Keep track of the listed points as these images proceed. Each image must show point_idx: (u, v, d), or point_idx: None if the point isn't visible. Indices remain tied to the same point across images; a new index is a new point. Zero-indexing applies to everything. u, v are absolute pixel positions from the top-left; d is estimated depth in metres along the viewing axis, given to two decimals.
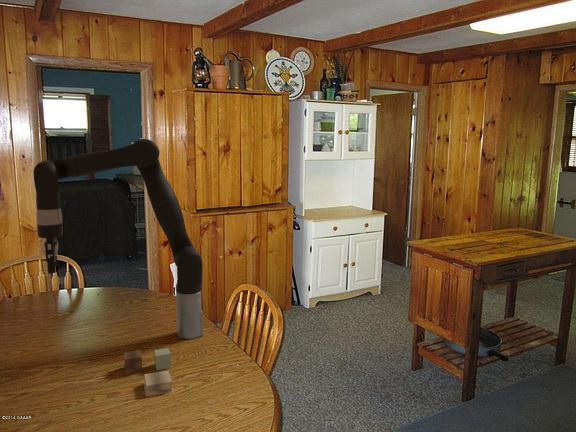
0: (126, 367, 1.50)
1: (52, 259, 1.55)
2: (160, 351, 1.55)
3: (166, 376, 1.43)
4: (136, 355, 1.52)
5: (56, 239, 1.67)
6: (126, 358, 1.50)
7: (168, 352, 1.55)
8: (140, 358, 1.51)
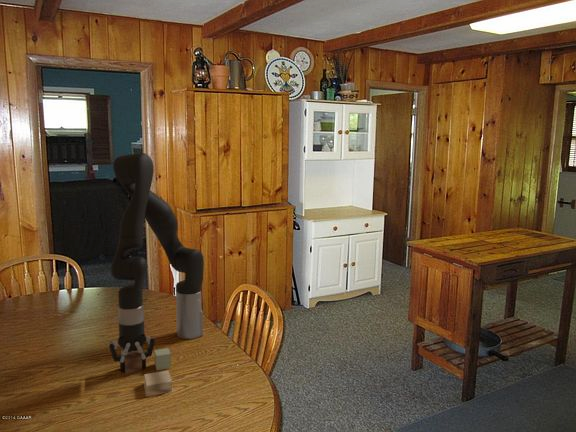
0: (126, 367, 1.50)
1: None
2: (160, 351, 1.55)
3: (166, 376, 1.43)
4: (136, 355, 1.52)
5: None
6: (126, 358, 1.50)
7: (168, 352, 1.55)
8: (140, 358, 1.51)
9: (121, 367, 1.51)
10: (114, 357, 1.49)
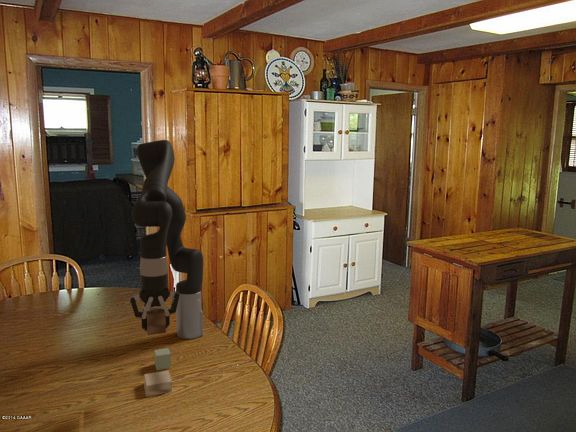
0: (148, 323, 1.36)
1: None
2: (160, 351, 1.55)
3: (166, 376, 1.43)
4: (159, 311, 1.38)
5: None
6: (148, 314, 1.36)
7: (168, 352, 1.55)
8: (164, 314, 1.37)
9: (143, 324, 1.37)
10: (135, 312, 1.36)
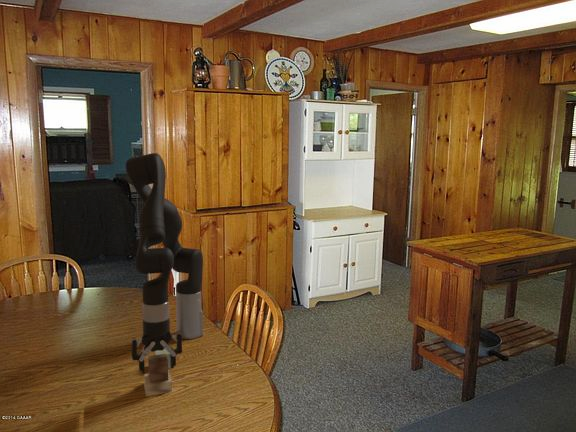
0: (151, 372, 1.39)
1: None
2: (160, 351, 1.55)
3: None
4: (162, 359, 1.41)
5: None
6: (151, 362, 1.39)
7: (168, 352, 1.55)
8: (166, 362, 1.40)
9: (140, 366, 1.39)
10: (133, 355, 1.37)
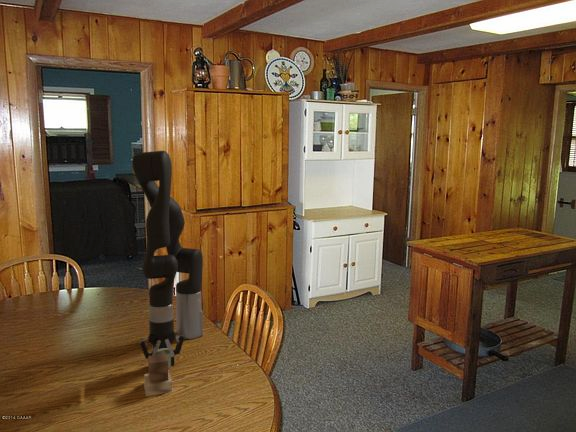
0: (151, 372, 1.39)
1: None
2: (160, 351, 1.55)
3: None
4: (162, 359, 1.41)
5: None
6: (151, 362, 1.39)
7: (168, 352, 1.55)
8: (166, 362, 1.40)
9: None
10: (145, 354, 1.52)
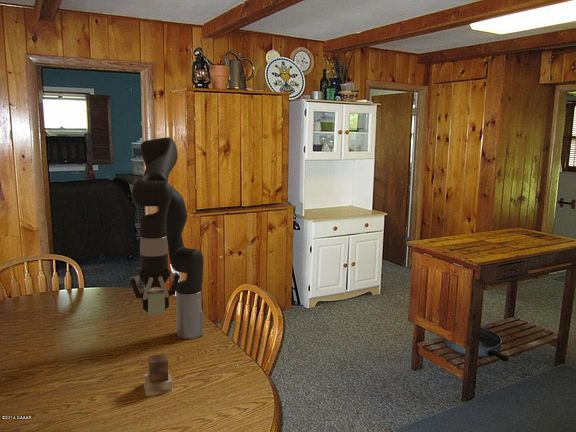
0: (151, 372, 1.39)
1: None
2: (153, 291, 1.38)
3: None
4: (162, 359, 1.41)
5: None
6: (151, 362, 1.39)
7: (162, 292, 1.38)
8: (166, 362, 1.40)
9: (144, 305, 1.37)
10: (136, 293, 1.35)
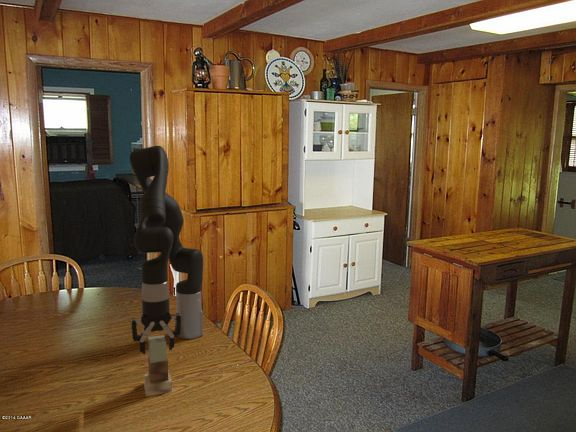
0: (151, 372, 1.39)
1: None
2: (154, 338, 1.41)
3: None
4: None
5: None
6: None
7: (163, 339, 1.40)
8: (166, 362, 1.40)
9: (141, 347, 1.38)
10: (134, 336, 1.36)
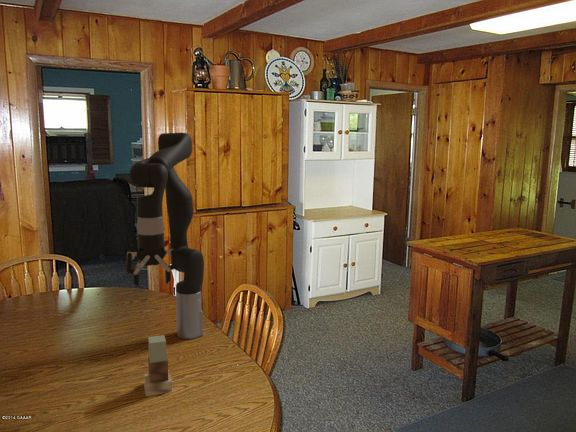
0: (151, 372, 1.39)
1: None
2: (154, 338, 1.41)
3: None
4: None
5: None
6: None
7: (163, 339, 1.40)
8: (166, 362, 1.40)
9: (134, 280, 1.42)
10: (128, 268, 1.41)
